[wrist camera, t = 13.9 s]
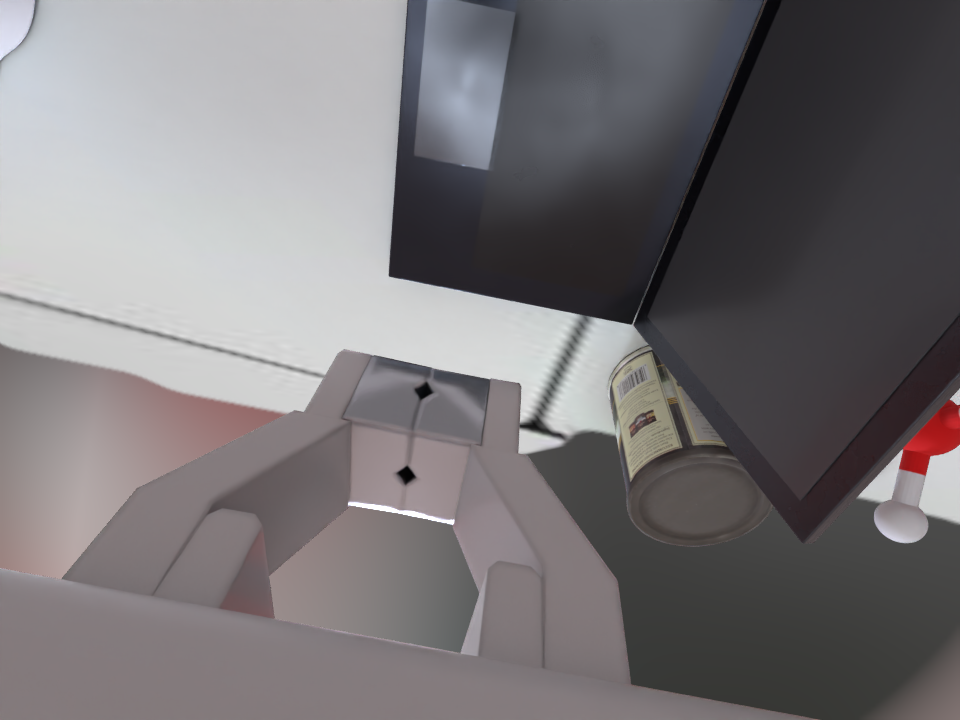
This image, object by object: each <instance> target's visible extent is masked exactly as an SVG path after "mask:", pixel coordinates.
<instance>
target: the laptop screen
mask: <svg viewBox="0 0 960 720" xmlns="http://www.w3.org/2000/svg"><path fill="white" fill-rule="evenodd" d="M634 326H635V328H636V329H637V330H638V332H639V333H640V334H641V336H642V337H643V338H644V339H645V341H646V342H647V343H648V345H649V346H650V347H651V348H652V350H653V351H654V352H655V354H656V355H657V356H658V358H659V359H660V360H661V361H662V363H663V364H664V365H665V367H666V368H667V369H668V370H669V372H670V373H671V374H672V376H673V377H674V378H675V379H676V381H677V382H678V383H679V385H680V386H681V387H682V389H683V390H684V391H685V392H686V394H687V395H688V396H689V398H690V399H691V400H692V401H693V403H694V404H695V405H696V407H697V408H698V409H699V410H700V412H701V413H702V414H703V416H704V417H705V418H706V420H707V421H708V422H709V423H710V425H711V426H712V427H713V429H714V430H715V431H716V432H717V434H718V435H719V436H720V438H721V439H722V440H723V442H724V443H725V444H726V445H727V447H728V448H729V449H730V451H731V452H732V453H733V454H734V456H735V457H736V458H737V460H738V461H739V462H740V463H741V465H742V466H743V467H744V469H745V470H746V471H747V473H748V474H749V475H750V476H751V478H752V479H753V480H754V482H755V483H756V484H757V485H758V487H759V488H760V489H761V491H762V492H763V493H764V495H765V496H766V497H767V498H768V500H769V501H770V502H771V504H772V505H773V506H774V507H775V509H776V510H777V511H778V513H779V514H780V515H781V516H782V518H783V519H784V520H785V521H786V523H787V524H788V525H789V527H790V528H791V529H792V531H793V532H794V533H795V535H796V536H797V537H798V538H799V540H800V541H801V542H802V543H803V544H805V543H814V542H815V541H816V540H817V539H818V537H820V536H821V534H822V533H823V532H824V531H825V530H826V529H827V528H828V527H829V526H830V525H831V524H832V523H833V522H834V521H835V520H836V519H837V518H838V517H839V515H840V514H841V513H842V512H843V511H844V510H845V509H846V508H847V507H848V506H849V505H850V504H851V503H852V502H853V500H855V499H856V498H857V496H858V495H859V494H860V493H861V492H862V491H863V490H864V489H865V488H866V487H867V486H868V485H869V484H870V483H871V482H872V481H873V480H874V479H875V477H876V476H877V475H878V474H879V473H880V472H881V471H882V470H883V469H884V468H885V467H886V466H887V465H888V464H889V463H890V462H891V461H892V459H893V458H894V457H895V456H896V455H897V454H898V453H899V452H900V451H901V450H902V449H903V448H904V447H905V446H906V445H907V444H908V443H909V441H910V440H911V439H912V438H913V437H914V436H915V435H916V434H917V433H918V432H919V431H920V430H921V429H922V428H923V427H924V426H925V425H926V424H927V422H928V421H929V420H930V419H931V418H932V417H933V416H934V415H935V414H936V413H937V412H938V411H939V410H940V409H941V408H942V407H943V406H944V404H945V403H946V402H947V401H948V400H949V399H950V398H951V397H952V396H953V395H954V394H955V393H956V392H957V391H958V390H959V389H960V0H767V2H766V4H765V7H764V9H763V12H762V14H761V16H760V19H759V21H758V24H757V26H756V29H755V31H754V33H753V36H752V38H751V41H750V43H749V46H748V48H747V50H746V53H745V55H744V58H743V60H742V63H741V65H740V67H739V70H738V72H737V75H736V77H735V80H734V82H733V84H732V87H731V89H730V92H729V94H728V97H727V99H726V101H725V104H724V106H723V109H722V111H721V114H720V116H719V118H718V121H717V123H716V126H715V128H714V131H713V133H712V135H711V138H710V140H709V143H708V145H707V148H706V150H705V152H704V155H703V157H702V160H701V162H700V165H699V167H698V169H697V172H696V174H695V177H694V179H693V182H692V184H691V186H690V189H689V191H688V194H687V196H686V199H685V201H684V203H683V206H682V208H681V211H680V213H679V216H678V218H677V220H676V223H675V225H674V228H673V230H672V233H671V235H670V237H669V240H668V242H667V245H666V247H665V250H664V252H663V254H662V257H661V259H660V262H659V264H658V267H657V269H656V271H655V274H654V276H653V279H652V281H651V284H650V286H649V288H648V291H647V293H646V296H645V298H644V301H643V303H642V305H641V308H640V310H639V313H638V315H637V318H636V320H635V322H634Z"/></svg>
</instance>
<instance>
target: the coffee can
mask: <svg viewBox="0 0 960 720" xmlns="http://www.w3.org/2000/svg"><path fill="white" fill-rule="evenodd" d="M608 397H609V401H610V403H611V409H612V414H613V420H614V425H615V431H616V436H617V442H618V447H619V453H620V459H621V464H622V469H623V475H624V481H625V486H626V492H627V509H628V514H629V517H630V519H631V520H632V522H633V523H634V525H635V526H636V527H637V528H638V529H639V530H640V531H641V532H643V533H644V534H646V535H647V536H649V537H651V538H653V539H655V540H658V541H661V542H664V543H668V544H672V545H680V546H707V545H713V544H718V543H723V542H726V541H729V540H732V539H735V538H737V537H739V536H742V535H744V534H746V533H748V532H749V531H751V530H753V529H754V528H756V527H757V526H758V525H759V524H760V523H762V522H763V521H764V520H765V519H766V518H767V516H768V515H769V513H770V512H771V510H772V508H773V505H772V504H771V502H770V501H769V500H768V498H767V497H766V496H765V495H764V493H763V492H762V491H761V489H760V488H759V487H758V485H757V484H756V483H755V482H754V480H753V479H752V478H751V476H750V475H749V474H748V473H747V471H746V470H745V469H744V467H743V466H742V465H741V463H740V462H739V461H738V460H737V458H736V457H735V456H734V454H733V453H732V452H731V451H730V449H729V448H728V447H727V445H726V444H725V443H724V442H723V440H722V439H721V438H720V436H719V435H718V434H717V432H716V431H715V430H714V429H713V427H712V426H711V425H710V423H709V422H708V421H707V420H706V418H705V417H704V416H703V414H702V413H701V412H700V410H699V409H698V408H697V407H696V405H695V404H694V403H693V401H692V400H691V399H690V398H689V396H688V395H687V394H686V392H685V391H684V390H683V389H682V387H681V386H680V385H679V383H678V382H677V381H676V379H675V378H674V377H673V376H672V374H671V373H670V372H669V370H668V369H667V368H666V367H665V365H664V364H663V363H662V361H661V360H660V359H659V358H658V356H657V355H656V354H655V352H654V351H653V350H652V348H651V347H650V346H647V347H644V348H642V349H639V350H637V351H636V352H634V353H632V354H631V355H629V356H628V357H626V358H625V359H624V360H623V361H622V362H621V363H620V364H619V365H618V366H617V367H616V369H615V370H614V371H613V373H612V375H611V377H610V380H609V384H608Z"/></svg>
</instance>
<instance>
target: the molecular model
mask: <svg viewBox="0 0 960 720" xmlns="http://www.w3.org/2000/svg"><path fill="white" fill-rule="evenodd" d="M959 445H960V405H956V404H955V403H954V402H953V401H951V400H948V401H947V402H946V403H945V404H944V406H943V407H942V408H941V409H940V410H939V411H938V412H937V413H936V414H935V415H934V416H933V417H932V418H931V419H930V420H929V421H928V422H927V424H926V425H925V426H924V427H923V428H922V429H921V430H920V431H919V432H918V433H917V434H916V435H915V436H914V437H913V438H912V439H911V440H910V441H909V443H908V444H907V445H906V446H905V447H904V448H903V454H902V458H901V462H900V467H899V471H898V475H897V479H896V483H895V487H894V491H893V496H892V500H888V501H885V502H883V503H881V504H880V505H879V506H878V507H877V509H876V511H875V514H874V520H875V524H876V526H877V527H878V529H879V530H880V532H881V533H882V534H884V535H885V536H886V537H888V538H889V539H891V540H894V541H897V542H901V543H911V542H915V541H918V540H920V539H921V538H922V537H924V535H925V534H926V532H927V530H928V521H927V518H926V516H925V514H924V513H923V511H922V510H921V509H920V508H919V507H918V506H919V502H920V497H921V493H922V489H923V485H924V481H925V477H926V472H927V468H928V464H929V460H930V456H934V455H940V454H944V453H947V452H949V451H951V450H953V449H955V448H956V447H957V446H959Z"/></svg>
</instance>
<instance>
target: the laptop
mask: <svg viewBox="0 0 960 720" xmlns="http://www.w3.org/2000/svg"><path fill="white" fill-rule="evenodd" d="M763 2H764V0H408V2H407V17H406V31H405V46H404V60H403V75H402V89H401V104H400V118H399V133H398V148H397V162H396V177H395V191H394V206H393V220H392V235H391V249H390V264H389V277H394V278H399V279H404V280H409V281H414V282H419V283H424V284H429V285H434V286H439V287H444V288H449V289H454V290H459V291H464V292H469V293H474V294H479V295H484V296H490V297H495V298H500V299H505V300H510V301H515V302H520V303H525V304H530V305H535V306H540V307H545V308H550V309H555V310H560V311H565V312H570V313H575V314H580V315H585V316H590V317H595V318H601V319H606V320H611V321H616V322H621V323H626V324H632V323H633V320H634V318H635V315H636V313H637V310H638V308H639V306H640V303H641V301H642V298H643V296H644V293H645V291H646V288H647V286H648V284H649V281H650V279H651V276H652V274H653V271H654V269H655V266H656V264H657V262H658V259H659V257H660V254H661V252H662V249H663V247H664V244H665V242H666V240H667V237H668V235H669V232H670V230H671V227H672V225H673V222H674V220H675V217H676V215H677V213H678V210H679V208H680V205H681V203H682V200H683V198H684V195H685V193H686V191H687V188H688V186H689V183H690V181H691V178H692V176H693V173H694V171H695V169H696V166H697V164H698V161H699V159H700V156H701V154H702V151H703V149H704V147H705V144H706V142H707V139H708V137H709V134H710V132H711V129H712V127H713V125H714V122H715V120H716V117H717V115H718V112H719V110H720V107H721V105H722V103H723V100H724V98H725V95H726V93H727V90H728V88H729V85H730V83H731V81H732V78H733V76H734V73H735V71H736V68H737V66H738V63H739V61H740V59H741V56H742V54H743V51H744V49H745V46H746V44H747V41H748V39H749V37H750V34H751V32H752V29H753V27H754V24H755V22H756V19H757V17H758V15H759V12H760V10H761V7H762V5H763Z"/></svg>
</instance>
